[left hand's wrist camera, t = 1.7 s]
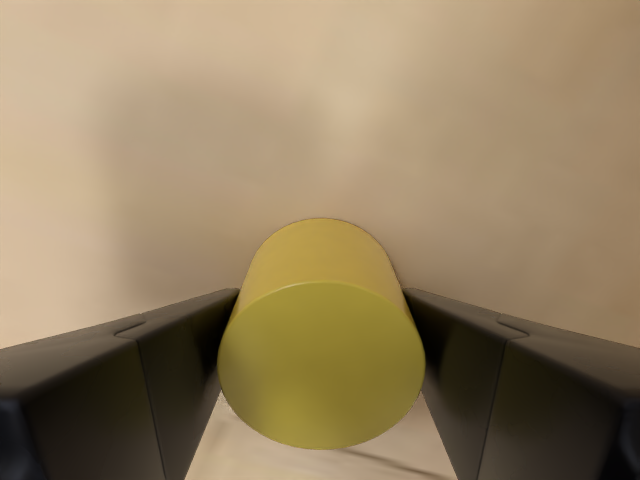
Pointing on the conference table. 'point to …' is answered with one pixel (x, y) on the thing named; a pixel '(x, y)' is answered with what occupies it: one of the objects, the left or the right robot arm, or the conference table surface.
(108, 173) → the conference table surface
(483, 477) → the left robot arm
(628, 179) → the conference table surface
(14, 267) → the conference table surface
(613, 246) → the conference table surface
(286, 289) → the canister
